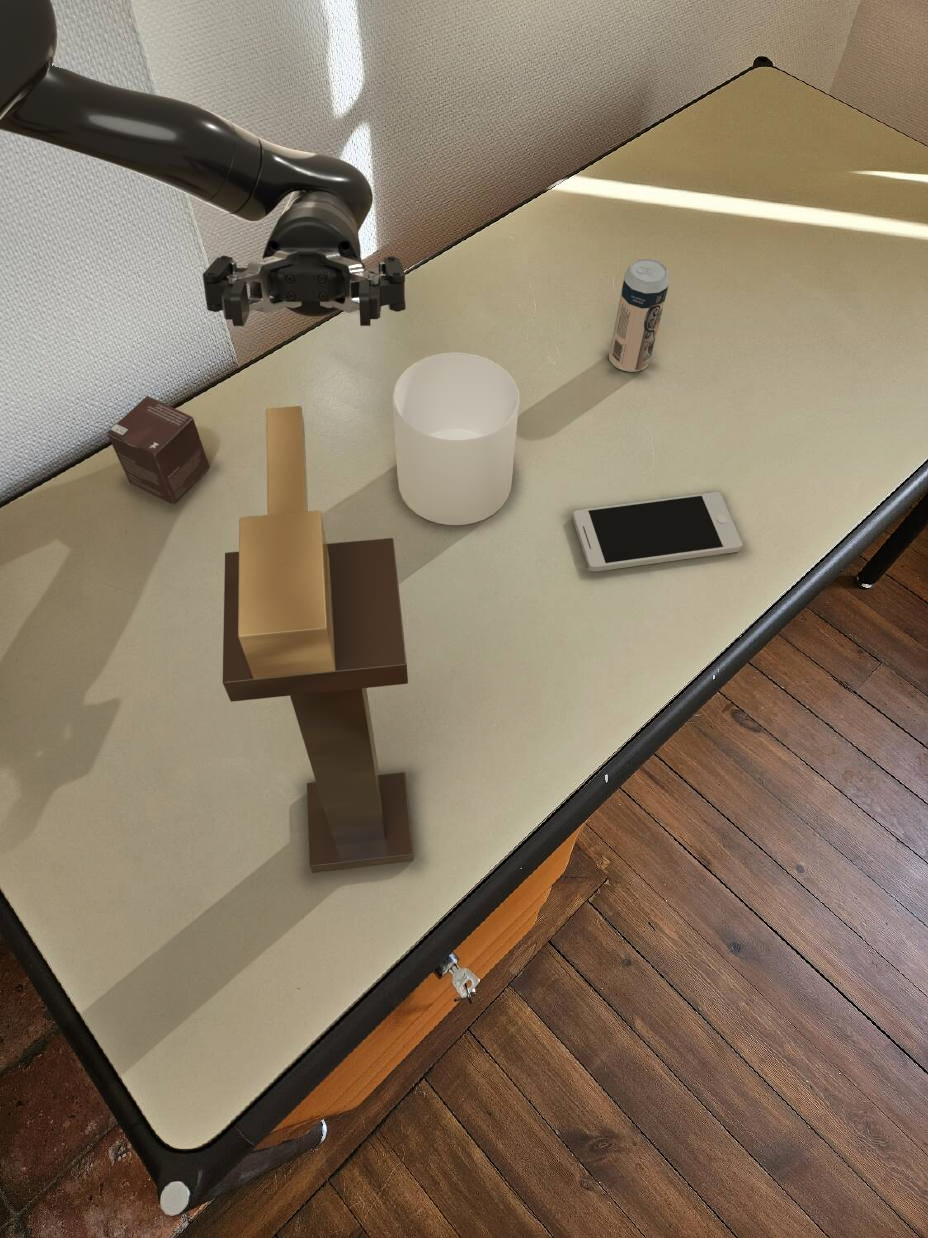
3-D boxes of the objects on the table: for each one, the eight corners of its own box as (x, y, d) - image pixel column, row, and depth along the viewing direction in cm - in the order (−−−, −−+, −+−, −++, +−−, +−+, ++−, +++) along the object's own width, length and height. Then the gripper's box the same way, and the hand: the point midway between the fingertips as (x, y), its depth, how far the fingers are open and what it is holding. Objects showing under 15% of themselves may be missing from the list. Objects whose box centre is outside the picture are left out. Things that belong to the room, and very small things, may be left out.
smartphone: (741, 551, 89) (744, 545, 88) (589, 572, 87) (590, 567, 87) (717, 496, 93) (720, 490, 92) (571, 515, 91) (572, 509, 90)
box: (212, 468, 94) (195, 416, 88) (173, 507, 91) (154, 456, 85) (166, 445, 95) (147, 393, 89) (127, 483, 93) (104, 431, 86)
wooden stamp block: (253, 680, 44) (237, 637, 41) (253, 427, 53) (240, 375, 50) (335, 671, 45) (327, 628, 41) (321, 422, 54) (313, 370, 50)
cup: (535, 485, 93) (546, 398, 83) (451, 545, 89) (452, 461, 79) (457, 423, 98) (459, 334, 88) (374, 478, 94) (366, 390, 83)
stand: (306, 880, 71) (222, 683, 44) (302, 784, 75) (224, 552, 48) (420, 866, 72) (406, 664, 45) (411, 773, 76) (393, 537, 49)
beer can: (648, 377, 102) (671, 287, 92) (606, 372, 103) (624, 281, 93) (650, 349, 105) (672, 258, 95) (609, 344, 105) (627, 252, 95)
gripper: (219, 205, 72) (184, 252, 58) (400, 206, 73) (406, 252, 59) (231, 302, 76) (201, 367, 62) (402, 302, 77) (408, 365, 64)
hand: (301, 311), depth 61 cm, fingers open, 8 cm apart
